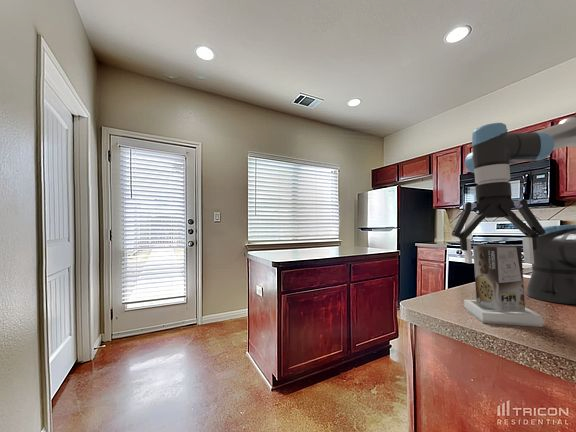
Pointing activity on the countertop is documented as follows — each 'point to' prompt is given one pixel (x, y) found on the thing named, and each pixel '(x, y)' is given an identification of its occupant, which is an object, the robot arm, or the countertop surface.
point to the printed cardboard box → (499, 277)
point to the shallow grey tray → (503, 315)
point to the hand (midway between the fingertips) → (498, 263)
